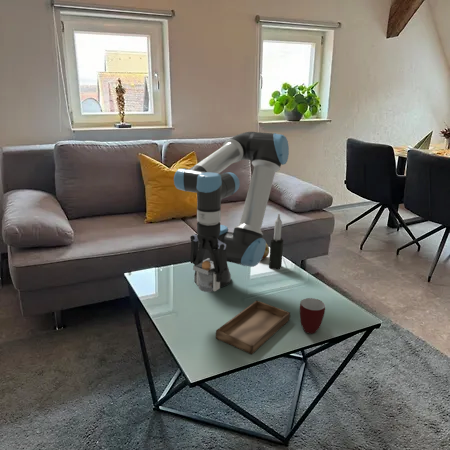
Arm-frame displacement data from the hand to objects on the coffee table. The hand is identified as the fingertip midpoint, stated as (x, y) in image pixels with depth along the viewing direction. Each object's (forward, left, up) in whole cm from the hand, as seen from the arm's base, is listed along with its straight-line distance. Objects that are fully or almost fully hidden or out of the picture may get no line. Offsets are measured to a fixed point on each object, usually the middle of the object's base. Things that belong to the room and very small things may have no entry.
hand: (208, 286), depth 140 cm
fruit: (-13, +57, -13) cm, 60 cm away
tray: (+16, +5, -13) cm, 21 cm away
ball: (0, -1, +8) cm, 8 cm away
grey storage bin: (0, 0, 0) cm, 0 cm away
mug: (+31, +17, -13) cm, 38 cm away
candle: (-3, +53, -13) cm, 55 cm away
